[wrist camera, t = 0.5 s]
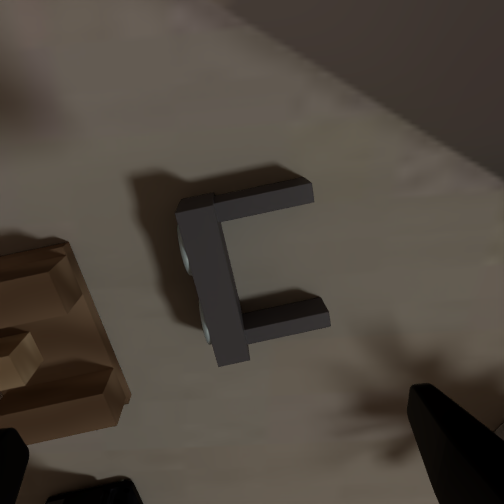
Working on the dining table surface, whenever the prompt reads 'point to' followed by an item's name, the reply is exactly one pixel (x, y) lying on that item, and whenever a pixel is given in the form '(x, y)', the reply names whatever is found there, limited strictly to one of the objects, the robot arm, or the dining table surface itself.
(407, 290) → the dining table surface
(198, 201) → the grey c-shaped bracket
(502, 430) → the house plant
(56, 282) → the display stand
